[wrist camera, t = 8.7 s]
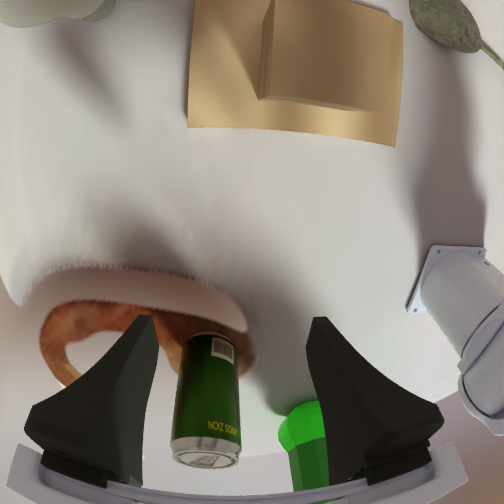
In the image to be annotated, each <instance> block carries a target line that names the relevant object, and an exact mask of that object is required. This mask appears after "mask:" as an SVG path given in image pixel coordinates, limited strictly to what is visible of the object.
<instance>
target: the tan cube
mask: <svg viewBox="0 0 504 504" xmlns="http://www.w3.org/2000/svg"><path fill="white" fill-rule="evenodd" d="M389 54H390V20H389V14H386V13H384V12H381V11H378V10H375V9H372V8H369V7H366V6H362V5H359V4H356V3H352V2H349V1H345V0H271V1H270V4H269V7H268V9H267V12H266V15H265V18H264V20H263V33H262V50H261V66H260V83H259V99H258V100H264V101H277V102H288V103H297V104H305V105H313V106H320V107H327V108H333V109H339V110H346V111H360V112H371V113H381V114H386V105H387V94H388V79H389Z"/></svg>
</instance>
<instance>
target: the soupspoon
mask: <svg viewBox="0 0 504 504" xmlns="http://www.w3.org/2000/svg"><path fill="white" fill-rule="evenodd" d="M409 7H410V12H411V15H412V18H413V21H414V23H415V25H416V26H417V27H418V28H419V29H420V30H422V31H423V32H424V33H426V34H427V35H428V36H430V37H431V38H433V39H434V40H436V41H438V42H439V43H441V44H443V45H445V46H447V47H449V48H451V49H454V50H457V51H460V52H464V53H475V52H477V51H478V50H479V49H482V50H483V51H484V52H486V53H487V54H488V55H489V56H490V57H491V58H492V59H493V60H494V61H496V63H497V64H498V65H499V66H500V67H501V68H502V69H503V70H504V62H503V61H502V60H501V59H500V58H499V57H498V56H497V55H496V54H495V53H494V52H493V51H492V50H491V49H490V48H489V47H488V46H487V45H486V44H485V43H484V42H483V41H482V40H481V36H480V32H479V29H478V26H477V23H476V21H475V19H474V18H473V16H472V14H471V13H470V11H469V10H468V8H467V7H466V6H465V5H464V4H463V3H462V2H461V1H460V0H409Z"/></svg>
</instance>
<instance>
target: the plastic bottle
mask: <svg viewBox="0 0 504 504" xmlns="http://www.w3.org/2000/svg"><path fill="white" fill-rule="evenodd" d="M278 438H279V441H280V443H281V445H282V446H283V448H284V449H285V450H286V451H287V452H288V455H289V462H290V468H291V475H292V482H293V489H294V492H297V491H304V490H311V489H317V488H322V487H328V486H329V472H328V457H327V446H326V438H325V430H324V424H323V417H322V412H321V408H320V404H319V400H315V401H308V402H305V403H303V404H300V405H298V406H296V407H295V408H294V410H293V411H292V412H291V413H290V414H289V415H288V416H287V418H286V419H285V420H284V421H283V422H282V424H281V425H280V428H279V431H278ZM335 501H336V500H335ZM330 502H333V501H330ZM326 503H329V502H326ZM320 504H325V503H320Z"/></svg>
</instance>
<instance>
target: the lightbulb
mask: <svg viewBox="0 0 504 504" xmlns="http://www.w3.org/2000/svg"><path fill="white" fill-rule="evenodd" d="M114 2H115V0H0V22H2V23H4V24H5V25H8V26H10V27H15V28H27V27H34V26H38V25H41V24H44V23H47V22H49V21H52V20H55V19H57V18H59V17H70V18H75V19H77V18H82V19H85V20H88V21H96V20H99V19H101V18H103V17H105V16H106V15H107V14H108V13H109V12H110V11H111V9H112V8H113V6H114Z"/></svg>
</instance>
